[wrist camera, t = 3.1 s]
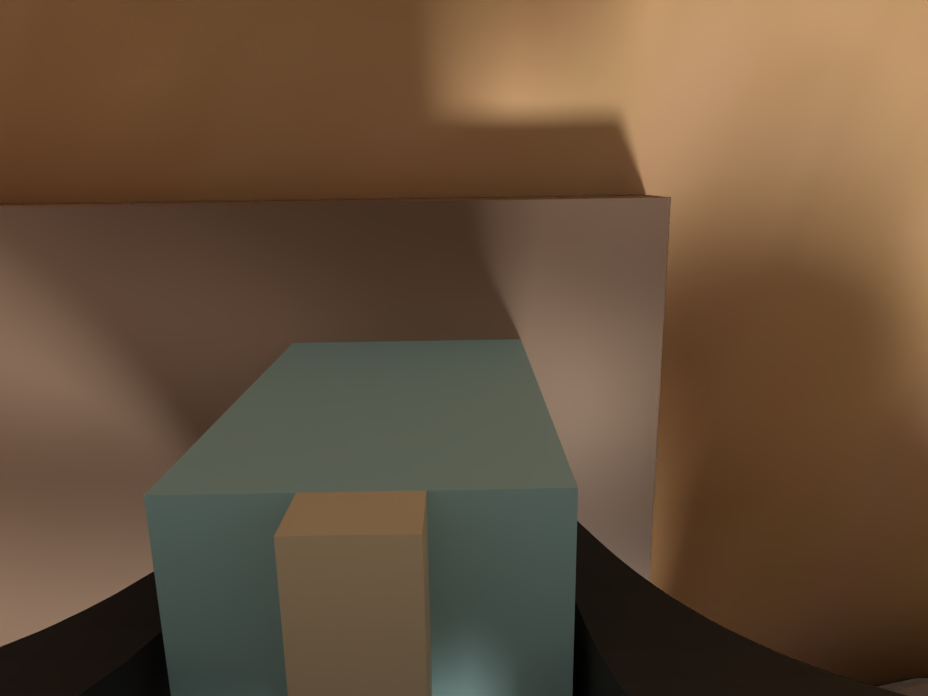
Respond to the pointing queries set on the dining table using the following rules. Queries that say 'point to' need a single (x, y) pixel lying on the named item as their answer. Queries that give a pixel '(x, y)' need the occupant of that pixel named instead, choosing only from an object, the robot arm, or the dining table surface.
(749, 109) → the dining table surface
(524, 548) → the teal and beige block
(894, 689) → the coffee pot
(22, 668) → the robot arm
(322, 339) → the board
